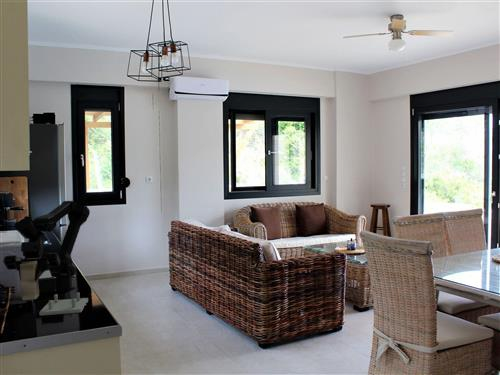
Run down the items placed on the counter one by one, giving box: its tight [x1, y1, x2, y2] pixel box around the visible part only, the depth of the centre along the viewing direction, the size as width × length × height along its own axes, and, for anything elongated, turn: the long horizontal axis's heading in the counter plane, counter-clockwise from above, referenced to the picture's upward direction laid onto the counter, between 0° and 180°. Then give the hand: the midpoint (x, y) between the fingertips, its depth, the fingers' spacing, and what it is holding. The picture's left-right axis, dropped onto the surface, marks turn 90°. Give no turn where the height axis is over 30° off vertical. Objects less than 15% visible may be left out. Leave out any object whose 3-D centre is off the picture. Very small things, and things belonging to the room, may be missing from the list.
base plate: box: [39, 292, 89, 316], centre depth 176 cm, size 14×14×4 cm
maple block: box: [20, 261, 40, 301], centre depth 174 cm, size 4×4×13 cm
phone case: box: [38, 269, 56, 282], centre depth 227 cm, size 9×2×16 cm
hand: (28, 280), depth 172 cm, fingers closed on maple block, 4 cm apart
